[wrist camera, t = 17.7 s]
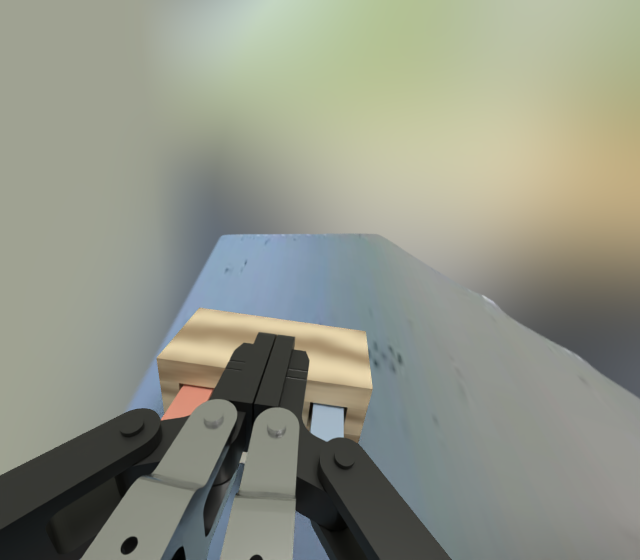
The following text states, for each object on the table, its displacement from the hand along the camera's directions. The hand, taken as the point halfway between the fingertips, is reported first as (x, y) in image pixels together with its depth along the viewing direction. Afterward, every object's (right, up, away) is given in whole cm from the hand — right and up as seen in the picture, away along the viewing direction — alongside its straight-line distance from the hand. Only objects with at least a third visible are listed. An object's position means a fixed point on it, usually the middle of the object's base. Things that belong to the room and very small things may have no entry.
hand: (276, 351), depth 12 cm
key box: (-5, -17, +28) cm, 33 cm away
